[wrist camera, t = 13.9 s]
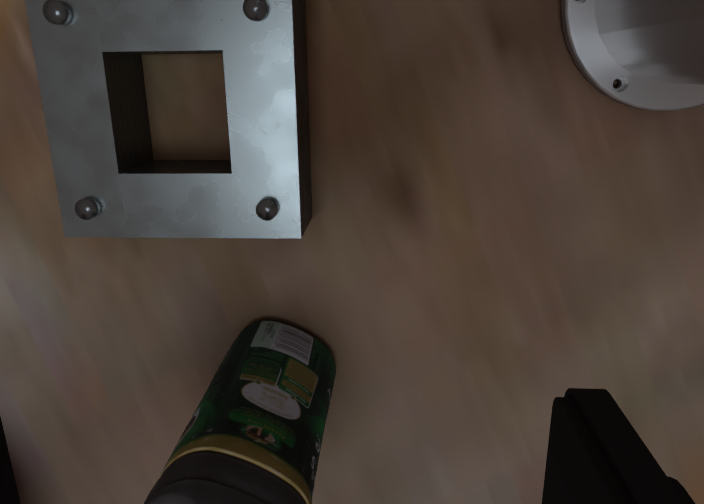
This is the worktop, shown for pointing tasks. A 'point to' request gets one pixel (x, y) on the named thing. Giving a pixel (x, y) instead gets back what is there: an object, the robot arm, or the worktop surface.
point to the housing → (133, 125)
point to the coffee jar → (255, 424)
